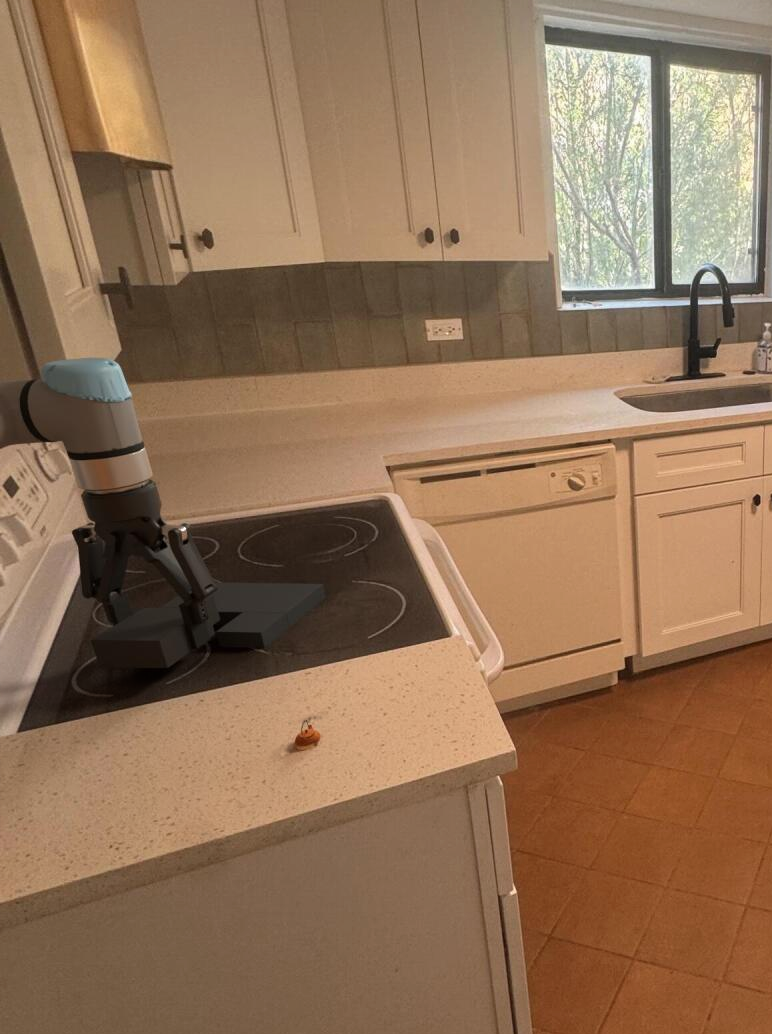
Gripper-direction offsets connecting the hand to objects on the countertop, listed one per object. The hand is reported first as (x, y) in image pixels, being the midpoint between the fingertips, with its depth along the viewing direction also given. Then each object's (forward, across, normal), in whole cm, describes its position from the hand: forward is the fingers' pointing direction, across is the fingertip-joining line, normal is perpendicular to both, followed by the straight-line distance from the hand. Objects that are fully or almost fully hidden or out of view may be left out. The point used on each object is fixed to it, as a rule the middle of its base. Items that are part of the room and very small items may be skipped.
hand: (166, 643), depth 105 cm
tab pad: (0, 0, -1) cm, 1 cm away
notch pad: (+5, 0, -13) cm, 14 cm away
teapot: (+5, -27, +14) cm, 31 cm away
